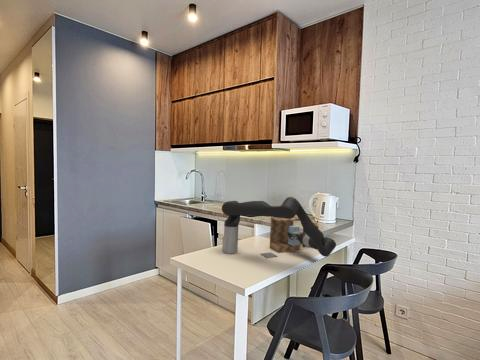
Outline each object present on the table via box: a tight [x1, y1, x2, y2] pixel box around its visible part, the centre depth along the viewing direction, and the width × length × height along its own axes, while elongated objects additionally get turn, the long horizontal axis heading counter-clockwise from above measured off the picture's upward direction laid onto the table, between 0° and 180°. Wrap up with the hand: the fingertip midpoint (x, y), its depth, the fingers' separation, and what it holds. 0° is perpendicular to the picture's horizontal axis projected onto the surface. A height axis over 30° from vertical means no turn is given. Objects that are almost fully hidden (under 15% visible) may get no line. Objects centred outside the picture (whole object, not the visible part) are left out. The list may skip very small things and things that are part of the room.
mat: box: [260, 251, 278, 259], centre depth 177 cm, size 8×8×1 cm
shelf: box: [269, 216, 302, 254], centre depth 191 cm, size 18×11×22 cm, turn 116°
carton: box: [288, 224, 301, 245], centre depth 185 cm, size 5×5×12 cm
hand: (291, 233), depth 187 cm, fingers closed on carton, 5 cm apart
